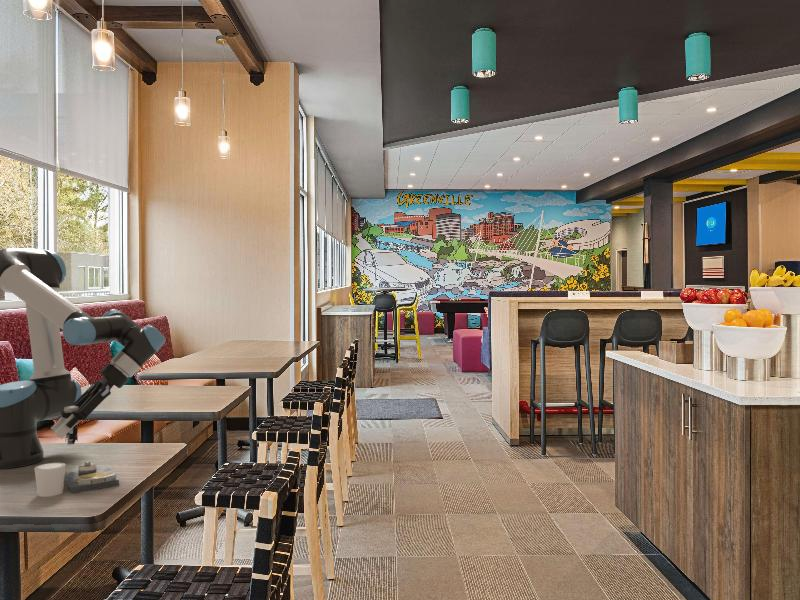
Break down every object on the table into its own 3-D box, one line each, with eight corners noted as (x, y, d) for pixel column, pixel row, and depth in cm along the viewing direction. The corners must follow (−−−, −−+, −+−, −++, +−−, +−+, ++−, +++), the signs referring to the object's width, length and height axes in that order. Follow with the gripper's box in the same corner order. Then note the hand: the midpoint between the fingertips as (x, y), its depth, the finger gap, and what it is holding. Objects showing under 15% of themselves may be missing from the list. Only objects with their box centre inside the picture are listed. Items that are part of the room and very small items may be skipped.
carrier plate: (63, 478, 173) (63, 463, 173) (107, 471, 180) (107, 457, 180) (72, 493, 161) (72, 477, 161) (119, 485, 167) (118, 469, 167)
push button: (80, 445, 177) (80, 410, 176) (59, 447, 175) (58, 411, 174) (83, 438, 183) (82, 404, 182) (62, 440, 181) (61, 405, 180)
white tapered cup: (58, 487, 166) (58, 460, 166) (70, 492, 162) (70, 465, 162) (30, 493, 161) (29, 466, 161) (41, 499, 157) (41, 471, 156)
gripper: (136, 383, 180) (72, 449, 171) (122, 374, 195) (62, 434, 186) (116, 365, 177) (49, 431, 168) (103, 358, 192) (41, 418, 183)
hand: (56, 433), depth 177 cm, fingers closed on push button, 5 cm apart
